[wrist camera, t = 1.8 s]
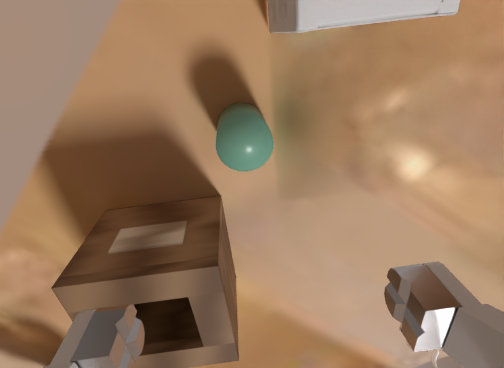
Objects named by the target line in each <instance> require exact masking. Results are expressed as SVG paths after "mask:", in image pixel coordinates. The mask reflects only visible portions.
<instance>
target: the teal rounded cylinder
mask: <svg viewBox="0 0 504 368" xmlns="http://www.w3.org/2000/svg"><path fill="white" fill-rule="evenodd" d="M216 150H217V153H218V156H219V158H220V159H221V161H222V162H223V163H224V164H225V165H226V166H228V167H229V168H231V169H233V170H237V171H252V170H255V169H257V168H259V167H261V166H262V165H263V164H264V163H265V162H266V161H267V160H268V159H269V157H270V156H271V153H272V150H273V137H272V134H271V132H270V130H269V127H268V125H267V123H266V121H265V119H264V117H263V115H262V114H261V112H260V111H259V110H258V109H257V108H256V107H255V106H253V105H251V104H248V103H235V104H232V105H230V106H228V107H227V108H226V109H224V111H223V112H222V113H221V115H220V117H219V119H218V124H217V136H216Z"/></svg>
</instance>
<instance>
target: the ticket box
mask: <svg viewBox="0 0 504 368" xmlns="http://www.w3.org/2000/svg"><path fill="white" fill-rule="evenodd" d="M51 289H52V290H53V292H54V293H55V295H56V296H57V298H58V300H59V301H60V303H61V304H62V306H63V307H64V309H65V310H66V312H67V313H68V315H69V317H70V318H71V320H72V321H74V319H75V317H76V316H77V314H78V313H79V312H81V311H82V310H87V309H95V308H103V307H112V306H121V305H134V307H135V308H136V310H137V313H136V316H135V317H136V318H137V319H139V320H141V321H142V324H143V326H144V332H145V336H144V345H143V349H142V353H141V354H140V355H139V356H138V358H137V359H136V360H135V364H136V366H137V368H189V367H196V366H203V365H210V364H218V363H225V362H232V361H239V353H238V323H237V293H236V275H235V270H234V264H233V259H232V253H231V248H230V242H229V237H228V232H227V226H226V221H225V215H224V210H223V204H222V199H221V196H216V197H208V198H200V199H192V200H185V201H177V202H169V203H161V204H153V205H146V206H138V207H130V208H122V209H114V210H107V211H105V212H104V214H103V215H102V216H101V218H100V219H99V221H98V222H97V224H96V225H95V226H94V228H93V229H92V231H91V232H90V234H89V235H88V236H87V238H86V239H85V241H84V242H83V244H82V245H81V246H80V248H79V249H78V251H77V252H76V254H75V255H74V256H73V258H72V259H71V261H70V262H69V264H68V265H67V266H66V268H65V269H64V271H63V272H62V274H61V275H60V276H59V278H58V279H57V281H56V282H55V284H54V285H53V286H52V288H51Z"/></svg>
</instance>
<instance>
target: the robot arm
mask: <svg viewBox="0 0 504 368" xmlns="http://www.w3.org/2000/svg"><path fill="white" fill-rule="evenodd" d="M387 278H388V279H389V281H390V283H389V284H388V285H387V286H386V287H385V293H384V295H385V301H386V304H387V307H388V309H389V311H390V313H391V315H392V316H393V318H395V319H396V320H398V321H399V322H401V323H402V326H401V332H402V333H403V335H404V337H405V338H406V340H407V342H408V343H409V345H410V347H411V348H412V350H413V352H417V351H426V350H435V349H443V351H444V352H445V353H447V354H448V355H449V356H450V357H452V358H453V359H454V360H455V361H457V362H458V363H459V364H461V365H462V366H463V367H465V368H504V312H502V311H500V310H498V309H496V308H494V307H492V306H490V305H488V304H481V303H480V302H479V301H478V300H477V299H476V298H475V297H474V296H473V295H472V294H471V293H470V292H469V291H468V289H467V288H466V287H465V286H464V285H463V284H462V283H461V282H460V281H459V280H458V279H457V278H456V277H455V276H454V275H453V274H452V273H451V272H450V271H449V270H448V269H447V268H446V267H445V266H444V265H443V264H442V263H440V262H432V263H424V264H416V265H409V266H402V267H396V268H391V269H390V270H389V271H388V275H387ZM136 313H137V310H136V308H135V307H134V305H121V306H112V307H103V308H95V309H87V310H82V311H81V312H79V313H78V314H77V316H76V317H75V319H74V321H73V323H72V325H71V327H70V328H69V330H68V332H67V334H66V336H65V338H64V339H63V341H62V343H61V345H60V347H59V349H58V351H57V352H56V354H55V356H54V358H53V360H52V362H51V363H50V365H49V366H44V367H43V368H137V366H136V364H135V360H136V359H137V358H138V356H139V355H140V354H141V353H142V349H143V345H144V336H145V332H144V326H143V324H142V321H141V320H139V319H137V318H136V317H135V316H136Z"/></svg>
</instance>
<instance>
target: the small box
mask: <svg viewBox="0 0 504 368" xmlns="http://www.w3.org/2000/svg"><path fill="white" fill-rule="evenodd" d="M459 3H460V0H268V16H269V30H270V33H302V32H307V31H313V30H320V29H328V28H336V27H345V26H353V25H362V24H371V23H379V22H388V21H397V20H406V19H415V18H424V17H433V16H444V15H455V14H456V13H457V11H458V7H459Z"/></svg>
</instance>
